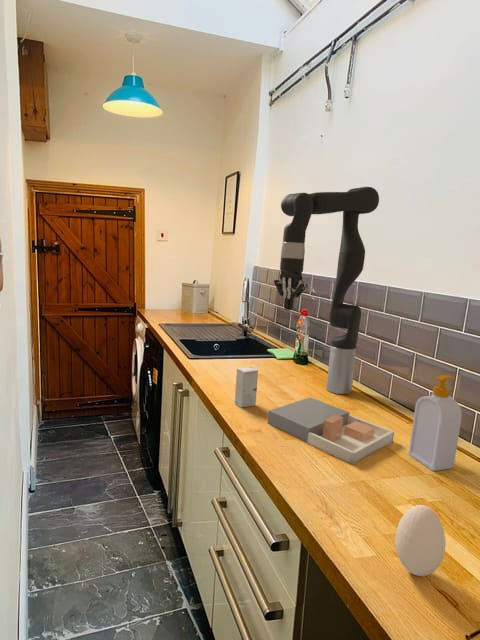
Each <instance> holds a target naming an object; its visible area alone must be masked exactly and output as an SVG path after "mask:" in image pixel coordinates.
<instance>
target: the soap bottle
mask: <svg viewBox="0 0 480 640" xmlns="http://www.w3.org/2000/svg"><path fill="white" fill-rule="evenodd" d="M434 379H435V380H438V381H439V384H438V385H433V388H432V389H433V390H432V393H431V395H426V396H425V395H424V396H422V397H419V398H418V399H417V401H416V403H415V406H414V407H415V408H414V414H413V421H412V429H411V434H410V441H409V442H410V443H409V450H408V455H409V456H410V457H411V458H413V459H414V460H416V461H417V462H419V463H420V464H421V465H424V466H425V467H426V468H427V469H429V470H431V471H432V472H438V471H442V470H443V471H445V470H452V469H453V468H454V466H455V460H456V454H457V449H458V442H459V436H460V430H461V422H462V419H463V418H462V417H463V414H462V408H461V406H460V405H459V403H458V401H456V399H454V398H453V397H451V396H450V388H449V387H447V386H446V383H447V382H446V380H448V379H452V380H453V381H454V380H455V381H457V378H456V377H454V376H452V375H448V374H447V375H446V374H441V375H437V376H435V377H434Z"/></svg>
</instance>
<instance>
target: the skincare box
mask: <svg viewBox="0 0 480 640" xmlns="http://www.w3.org/2000/svg"><path fill="white" fill-rule="evenodd" d="M258 376H259V370H258V369H257V368H254V367H251V366H250V367H240V368H237V369H236V376H235V377H236V378H235V393H234V404H235V405H237V406H238V407H239V408H245V407H246V408H247V407H253V406H256V405H257V402H256V401H257V391H258V390H257V389H258V380H259V379H258V378H259V377H258Z"/></svg>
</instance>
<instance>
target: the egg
mask: <svg viewBox="0 0 480 640" xmlns="http://www.w3.org/2000/svg"><path fill="white" fill-rule="evenodd" d="M394 541H395V551H396V554H397V556H398V558H399V560H400V562H401V564H402V566H403V567H404V568H405V569H406V570H407V571H408V572H409V573H410V574H412V575H415V576H419V577H425V576H426V577H427V576H428V575H431V574H433V573H434V572H435V571H436V570H437V569H438V568H439V567H440V566H441V564H442V562H443V560H444V556H445V553H446V536H445V531H444V527H443V524H442V522H441V519H440V517H439V516H438V514H437V513H436V512H435V510H434V509H432V508H431V507H429V506H427V505H423V504H419V505H414V506H412V507H411V508H409V509H408V510H407V511H406V512H405V513H404V514H403V515H402V517H401V519H399V522H398V525H397V529H396V532H395V539H394Z"/></svg>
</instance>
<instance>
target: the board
mask: <svg viewBox="0 0 480 640" xmlns="http://www.w3.org/2000/svg"><path fill="white" fill-rule="evenodd" d="M334 415H338V416H341V417H343V426H344V425H346V424H348V423H349V416H350V411H347V410H344V409H341V408H339V407H336V406H334V405H331V404H329V403H326V402H323V401H321V400H318V399H316V398H313V397H307V398H304V399H301V400H297V401H294V402H291V403H288V404H286V405H282V406H279V407H276V408H273V409H270V410H268V417H267V424H269V425H271V426H273V427H275V428H277V429H279V430H281V431H283V432H285V433H287V434H290V435H291V436H294V437H295V438H297V439H300V440H301V441H304V442H306V443H308V433H309V432H311V433H313V434H316V435H318V436H321V435H323V427H324V420H325V419H327V418H329V417H332V416H334Z"/></svg>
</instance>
